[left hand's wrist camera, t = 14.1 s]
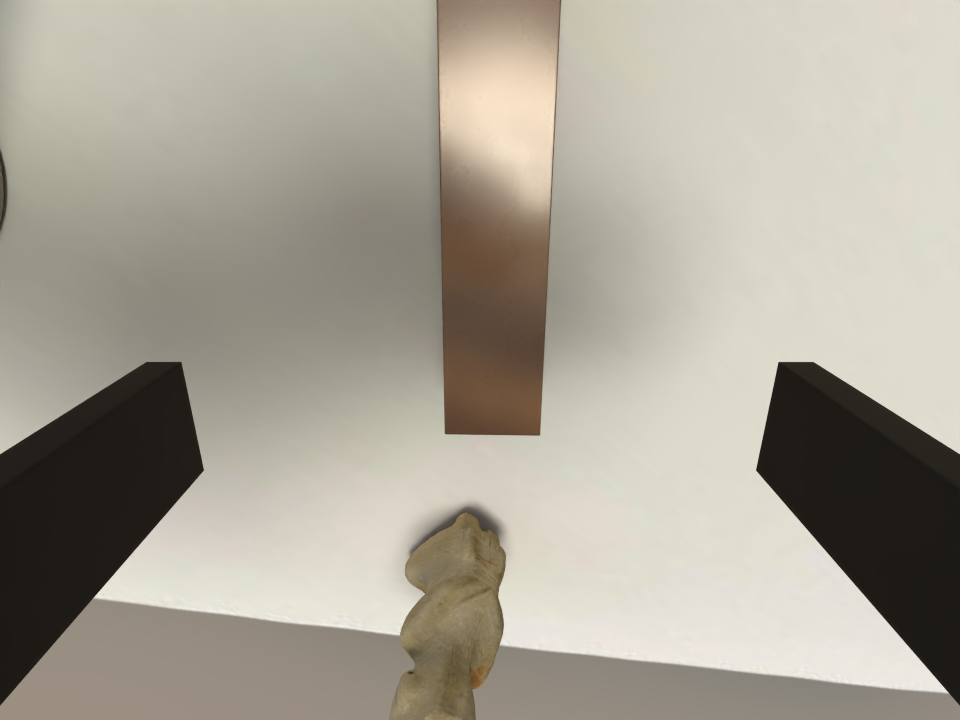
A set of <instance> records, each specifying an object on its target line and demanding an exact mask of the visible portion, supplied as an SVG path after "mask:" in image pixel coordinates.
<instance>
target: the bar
mask: <svg viewBox="0 0 960 720" xmlns="http://www.w3.org/2000/svg"><path fill="white" fill-rule="evenodd" d="M560 11H561V0H437V38H438V91H439V145H440V198H441V252H442V305H443V359H444V412H445V434H471V435H540V425H541V404H542V384H543V363H544V342H545V321H546V301H547V280H548V259H549V238H550V218H551V197H552V176H553V156H554V135H555V114H556V93H557V73H558V52H559V31H560Z"/></svg>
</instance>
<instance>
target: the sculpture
mask: <svg viewBox="0 0 960 720" xmlns="http://www.w3.org/2000/svg"><path fill="white" fill-rule="evenodd" d="M505 561H506V554H505V552H504V550H503V548H502V547H501V546H500V545H499V538H498V537H497V536H496V535H495V534H494V533H493V532H492V531H491V530H488V529H486V530H483V531H482V529H481V528H480V525H479V522H478V520H477V519H476V518H475V517H473V516H472V515H470V514H469V513H466V512H464V513H462V514H461V515H459V516H458V517H457V519H456V522H455V523H454V524H453V525H452V526H451V527H448V528H446V529H444V530H442V531H440V532H438V533H437V534H435V535H434V536H432V537H431V538H429V539H428V540H427V541H426V542H424V543H423V544H422V545H420V546H419V547H418V548H417V549H416V550H415V551H414V552H413V554H412V555H411V557H410V558H409V559H408V561H407V563H406V566H405V575H406V578H407V579H408V581H409V582H410V583H411V584H412V585H413V586H415V587H417V588H418V589H420V590H421V591H423V592H424V593H425V595H424V596H423V597H422V598H421V599H420V600H419V601H418V602H417V604H416V605H415V606H414V607H413V608H412V610H411V611H410V612H409V614H408V615H407V617H406V619H405V622H404V624H403V626H402V628H401V633H400V642H401V645H402V646H403V648H404V649H405V651H406V652H407V653H408V654H409V655H410V657H411V658H412V659H413V661H414V663H415V667H414V669H413V670H409V671H407V672H405V673H404V674H403V675H402V677H401V679H400V681H399V684H398V687H397V691H396V693H395V696H394V699H393V701H392V705H391V712H390V718H389V720H476V717H475V703H474V697H473V691H472V689H477V688H479V687H481V686H482V684H483V683H484V681H485V680H486V678H487V676H488V674H489V672H490V670H491V668H492V666H493V663H494V660H495V656H496V653H497V651H498V648H499V645H500V642H501V639H502V635H503V628H504V621H503V614H502V609H501V606H500V602H499V599H498V592H499V586H500V584H501V582H502V579H503V576H504V571H505Z"/></svg>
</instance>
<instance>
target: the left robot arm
mask: <svg viewBox="0 0 960 720" xmlns="http://www.w3.org/2000/svg"><path fill="white" fill-rule="evenodd" d="M3 200H4V186H3V176H2V168H1V164H0V221H1V216H2V210H3ZM203 471H204V469H203V464H202V459H201V454H200V449H199V445H198V440H197V435H196V430H195V425H194V421H193V416H192V411H191V406H190V401H189V397H188V392H187V387H186V382H185V377H184V373H183V368H182V363H181V362H146V363H144V364H143V365H141V366H140V367H138V368H136V369H135V370H133V371H132V372H130V373H128V374H127V375H125V376H124V377H122V378H121V379H119V380H117V381H116V382H114V383H113V384H111V385H109V386H108V387H106V388H105V389H103V390H102V391H100V392H98V393H97V394H95V395H94V396H92V397H90V398H89V399H87V400H86V401H84V402H82V403H81V404H79V405H78V406H76V407H75V408H73V409H71V410H70V411H68V412H67V413H65V414H63V415H62V416H60V417H59V418H57V419H56V420H54V421H52V422H51V423H49V424H48V425H46V426H44V427H43V428H41V429H40V430H38V431H37V432H35V433H33V434H32V435H30V436H29V437H27V438H25V439H24V440H22V441H21V442H19V443H17V444H16V445H14V446H13V447H11V448H10V449H8V450H6V451H5V452H3V453H2V454H0V705H1V704H2V703H3V702H4V700H5V699H6V698H7V697H8V696H9V695H10V694H11V692H12V691H13V690H14V689H15V688H16V686H17V685H18V684H19V683H20V682H21V681H22V680H23V678H24V677H25V676H26V675H27V674H28V673H29V672H30V670H31V669H32V668H33V667H34V666H35V665H36V664H37V662H38V661H39V660H40V659H41V658H42V657H43V655H44V654H45V653H46V652H47V651H48V650H49V649H50V647H51V646H52V645H53V644H54V643H55V642H56V640H57V639H58V638H59V637H60V636H61V635H62V633H63V632H64V631H65V630H66V629H67V628H68V627H69V625H70V624H71V623H72V622H73V621H74V620H75V619H76V617H77V616H78V615H79V614H80V613H81V612H82V610H83V609H84V608H85V607H86V606H87V605H88V603H89V602H90V601H91V600H92V599H93V598H94V597H95V595H96V594H97V593H98V592H99V591H100V590H101V589H102V587H103V586H104V585H105V584H106V583H107V582H108V580H109V579H110V578H111V577H112V576H113V575H114V574H115V572H116V571H117V570H118V569H119V568H120V567H121V565H122V564H123V563H124V562H125V561H126V560H127V559H128V557H129V556H130V555H131V554H132V553H133V552H134V550H135V549H136V548H137V547H138V546H139V545H140V544H141V542H142V541H143V540H144V539H145V538H146V537H147V535H148V534H149V533H150V532H151V531H152V530H153V529H154V527H155V526H156V525H157V524H158V523H159V522H160V520H161V519H162V518H163V517H164V516H165V515H166V514H167V512H168V511H169V510H170V509H171V508H172V507H173V505H174V504H175V503H176V502H177V501H178V500H179V499H180V497H181V496H182V495H183V494H184V493H185V492H186V490H187V489H188V488H189V487H190V486H191V485H192V484H193V482H194V481H195V480H196V479H197V478H198V477H199V475H200V474H201V473H202V472H203ZM756 471H757V472H758V473H759V474H760V475H761V477H762V478H763V479H764V480H765V481H766V482H767V484H768V485H769V486H770V487H771V488H772V489H773V490H774V492H775V493H776V494H777V495H778V496H779V497H780V499H781V500H782V501H783V502H784V503H785V504H786V505H787V507H788V508H789V509H790V510H791V511H792V512H793V514H794V515H795V516H796V517H797V518H798V519H799V520H800V522H801V523H802V524H803V525H804V526H805V527H806V529H807V530H808V531H809V532H810V533H811V534H812V535H813V537H814V538H815V539H816V540H817V541H818V542H819V544H820V545H821V546H822V547H823V548H824V549H825V550H826V552H827V553H828V554H829V555H830V556H831V557H832V559H833V560H834V561H835V562H836V563H837V564H838V565H839V567H840V568H841V569H842V570H843V571H844V572H845V574H846V575H847V576H848V577H849V578H850V579H851V580H852V582H853V583H854V584H855V585H856V586H857V587H858V589H859V590H860V591H861V592H862V593H863V594H864V595H865V597H866V598H867V599H868V600H869V601H870V602H871V604H872V605H873V606H874V607H875V608H876V609H877V610H878V612H879V613H880V614H881V615H882V616H883V617H884V619H885V620H886V621H887V622H888V623H889V624H890V625H891V627H892V628H893V629H894V630H895V631H896V632H897V634H898V635H899V636H900V637H901V638H902V639H903V640H904V642H905V643H906V644H907V645H908V646H909V647H910V649H911V650H912V651H913V652H914V653H915V654H916V655H917V657H918V658H919V659H920V660H921V661H922V662H923V664H924V665H925V666H926V667H927V668H928V669H929V670H930V672H931V673H932V674H933V675H934V676H935V677H936V679H937V680H938V681H939V682H940V683H941V684H942V685H943V687H944V688H945V689H946V690H947V691H948V692H949V694H950V695H951V696H952V697H953V698H954V699H955V700H956V702H957V703H958V704H959V705H960V454H958V453H957V452H955V451H954V450H952V449H950V448H949V447H947V446H946V445H944V444H943V443H941V442H939V441H938V440H936V439H935V438H933V437H931V436H930V435H928V434H927V433H925V432H923V431H922V430H920V429H919V428H917V427H916V426H914V425H912V424H911V423H909V422H908V421H906V420H904V419H903V418H901V417H900V416H898V415H897V414H895V413H893V412H892V411H890V410H889V409H887V408H885V407H884V406H882V405H881V404H879V403H878V402H876V401H874V400H873V399H871V398H870V397H868V396H866V395H865V394H863V393H862V392H860V391H858V390H857V389H855V388H854V387H852V386H851V385H849V384H847V383H846V382H844V381H843V380H841V379H839V378H838V377H836V376H835V375H833V374H832V373H830V372H828V371H827V370H825V369H824V368H822V367H820V366H819V365H817V364H816V363H814V362H779V363H778V368H777V373H776V377H775V382H774V387H773V392H772V397H771V401H770V406H769V411H768V416H767V421H766V425H765V430H764V435H763V440H762V445H761V449H760V454H759V459H758V464H757V469H756Z"/></svg>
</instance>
